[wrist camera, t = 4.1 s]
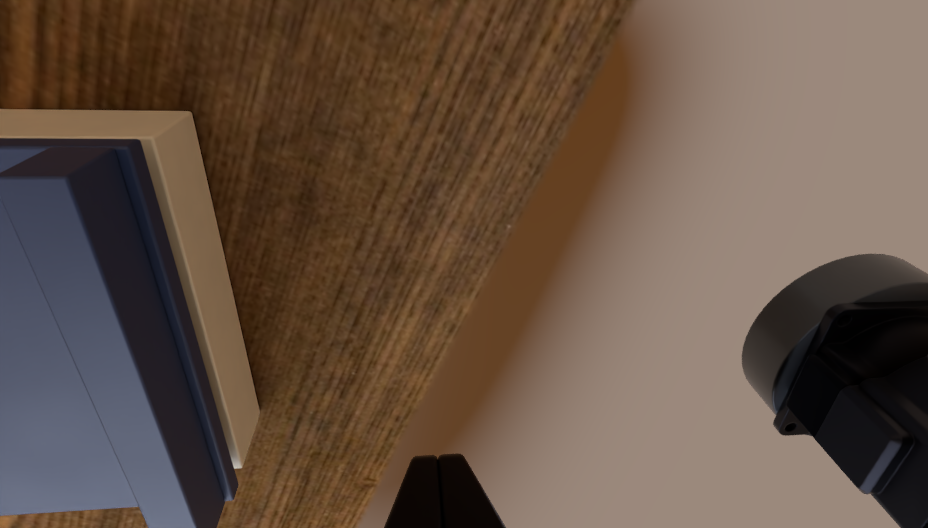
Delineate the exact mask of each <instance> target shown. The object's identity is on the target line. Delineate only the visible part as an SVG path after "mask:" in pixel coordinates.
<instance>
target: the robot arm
mask: <svg viewBox="0 0 928 528" xmlns="http://www.w3.org/2000/svg"><path fill="white" fill-rule="evenodd" d="M773 425H774V427H775V428H776V429H777V431H778V432H779V433H780V434H781V435H785V436H789V435H807V434H811V435H812V436H813V438H814V439H815V440H816V441H817V442H818V443H819V444H820V445H821V447H823V449H824V450H825V451H826V452H827V454H828V455H829V456H830V457H831V458H832V459H833V460H834V462H835V463H836V464H837V465H838V466H839V467H840V469H841V470H842V471H843V472H844V473H845V474H846V475H847V476H848V478H849V479H850V480H851V481H852V482H853V483H854V485H855V486H856V487H857V488H858V489H859V490H860V491H861V492H862V493H864V494H871V495H872V496H873V497H874V498H875V499H876V500H877V501H878V503H879V504H880V505H881V506H882V507H883V508H884V509H885V510H886V512H887V513H888V514H889V515H890V516H891V517H892V518H893V520H894V521H895V522H896V523H897V524H898V525H899V526H900V527H901V528H928V300H925V301H892V302H859V303H839V304H836V305H834V306H832V307H830V308H829V309H828V310H827V311H826V312H825V314H824V315H823V318H822V320H821V322H820V324H819V326H818V328H817V330H816V332H815V334H814V337H813V339H812V341H811V343H810V345H809V347H808V349H807V351H806V353H805V356H804V358H803V360H802V362H801V364H800V366H799V368H798V370H797V372H796V375H795V377H794V379H793V381H792V383H791V385H790V387H789V389H788V391H787V394H786V396H785V398H784V400H783V402H782V404H781V406H780V408H779V410H778V413H777V415H776V417H775V419H774V422H773ZM384 528H506V527H505V525H504V524H503V522H502V521H501V519H500V517H499V515H498V513H497V512H496V510H495V508H494V507H493V505H492V503H491V502H490V500H489V498H488V496H487V495H486V493H485V492H484V490H483V488H482V486H481V485H480V483H479V481H478V480H477V478H476V476H475V474H474V473H473V471H472V469H471V468H470V466H469V464H468V462H467V461H466V459H465V458H464V456H463V455H461V454H444V455H440V456H439V458H438V459H437V457H436V456H434V455H426V456H415V457H413V459H412V460H411V462H410V465H409V467H408V470H407V472H406V474H405V477H404V479H403V482H402V484H401V487H400V489H399V492H398V494H397V497H396V499H395V502H394V504H393V507H392V509H391V512H390V515H389V517H388V519H387V522H386V524H385V527H384Z"/></svg>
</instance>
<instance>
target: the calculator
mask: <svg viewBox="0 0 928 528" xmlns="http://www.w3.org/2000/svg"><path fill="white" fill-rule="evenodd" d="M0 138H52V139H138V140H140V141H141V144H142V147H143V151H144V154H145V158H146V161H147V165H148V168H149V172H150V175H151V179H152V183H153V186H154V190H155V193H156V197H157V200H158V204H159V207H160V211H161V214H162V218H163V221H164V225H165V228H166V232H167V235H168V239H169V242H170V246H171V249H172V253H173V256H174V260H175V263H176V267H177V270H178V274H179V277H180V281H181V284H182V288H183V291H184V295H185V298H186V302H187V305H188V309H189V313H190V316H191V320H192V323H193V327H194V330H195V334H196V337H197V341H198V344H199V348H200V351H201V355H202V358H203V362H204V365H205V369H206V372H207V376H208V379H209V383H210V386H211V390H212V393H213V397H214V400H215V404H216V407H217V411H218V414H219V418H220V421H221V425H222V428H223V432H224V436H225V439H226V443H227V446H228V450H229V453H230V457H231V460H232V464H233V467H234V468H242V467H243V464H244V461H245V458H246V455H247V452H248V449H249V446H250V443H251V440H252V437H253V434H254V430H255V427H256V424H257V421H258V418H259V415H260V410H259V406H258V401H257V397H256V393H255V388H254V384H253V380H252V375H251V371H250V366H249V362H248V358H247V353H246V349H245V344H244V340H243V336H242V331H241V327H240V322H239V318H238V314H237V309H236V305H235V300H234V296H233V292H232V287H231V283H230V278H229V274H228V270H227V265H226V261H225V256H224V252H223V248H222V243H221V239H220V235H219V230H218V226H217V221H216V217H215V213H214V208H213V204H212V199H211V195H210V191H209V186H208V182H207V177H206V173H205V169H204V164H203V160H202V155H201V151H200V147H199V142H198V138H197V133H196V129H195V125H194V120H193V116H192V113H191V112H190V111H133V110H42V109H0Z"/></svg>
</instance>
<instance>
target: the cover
mask: <svg viewBox="0 0 928 528" xmlns="http://www.w3.org/2000/svg"><path fill="white" fill-rule="evenodd" d="M237 488H238V481H237V478H236V474H235V471H234V467H233V464H232V460H231V457H230V453H229V450H228V446H227V443H226V439H225V436H224V432H223V428H222V425H221V421H220V418H219V414H218V411H217V407H216V404H215V400H214V397H213V393H212V390H211V386H210V383H209V379H208V376H207V372H206V369H205V365H204V362H203V358H202V355H201V351H200V348H199V344H198V341H197V337H196V334H195V330H194V327H193V323H192V320H191V316H190V313H189V309H188V305H187V302H186V298H185V295H184V291H183V288H182V284H181V281H180V277H179V274H178V270H177V267H176V263H175V260H174V256H173V253H172V249H171V246H170V242H169V239H168V235H167V232H166V228H165V225H164V221H163V218H162V214H161V211H160V207H159V204H158V200H157V197H156V193H155V190H154V186H153V183H152V179H151V175H150V172H149V168H148V165H147V161H146V158H145V154H144V151H143V147H142V144H141V141H140V140H138V139H52V138H0V516H4V515H19V514H34V513H49V512H65V511H80V510H95V509H110V508H125V507H139V508H140V510H141V513H142V515H143V517H144V519H145V521H146V524H147V526H148V528H216V527H217V524H218V521H219V518H220V515H221V512H222V509H223V506H224V503H225V501H232V500H233V499H234V497H235V494H236V491H237Z"/></svg>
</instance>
